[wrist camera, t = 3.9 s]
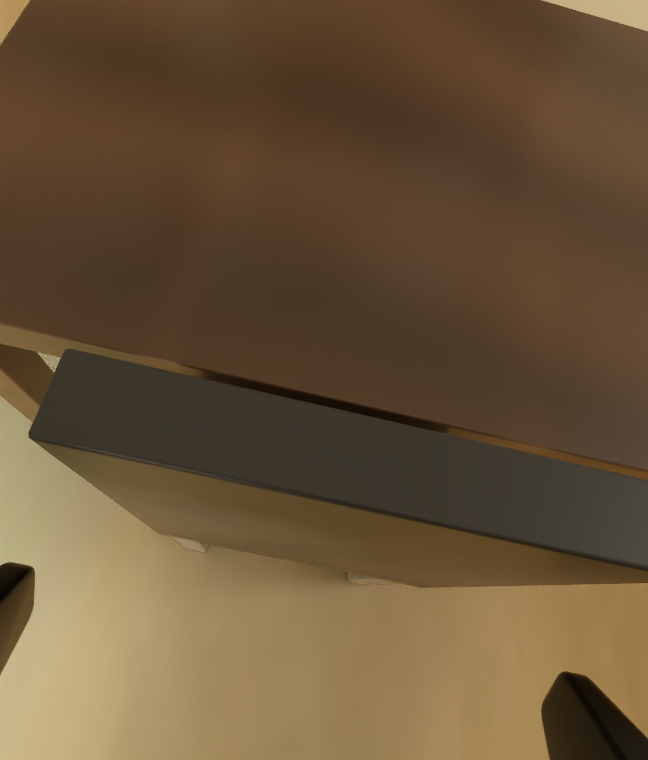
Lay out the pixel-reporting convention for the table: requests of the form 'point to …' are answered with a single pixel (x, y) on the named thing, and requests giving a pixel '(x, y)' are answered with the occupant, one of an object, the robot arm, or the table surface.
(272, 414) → the dark high-back seat
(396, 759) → the table surface
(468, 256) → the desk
